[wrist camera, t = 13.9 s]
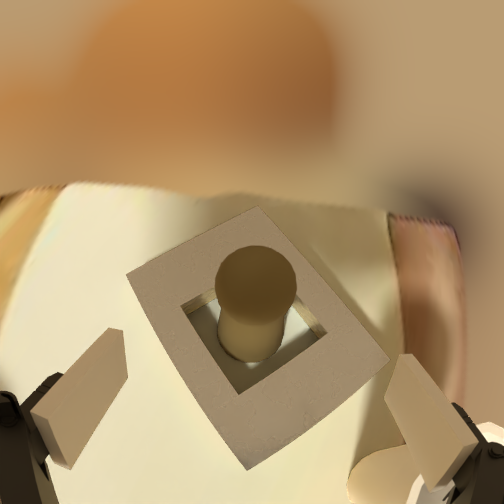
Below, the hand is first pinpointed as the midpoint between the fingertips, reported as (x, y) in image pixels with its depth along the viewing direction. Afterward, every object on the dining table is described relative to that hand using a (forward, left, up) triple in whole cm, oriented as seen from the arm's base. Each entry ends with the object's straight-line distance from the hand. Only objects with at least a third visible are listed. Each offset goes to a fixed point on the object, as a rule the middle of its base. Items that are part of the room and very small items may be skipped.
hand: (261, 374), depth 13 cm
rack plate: (-5, +4, -13) cm, 14 cm away
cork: (-5, +4, -13) cm, 15 cm away
